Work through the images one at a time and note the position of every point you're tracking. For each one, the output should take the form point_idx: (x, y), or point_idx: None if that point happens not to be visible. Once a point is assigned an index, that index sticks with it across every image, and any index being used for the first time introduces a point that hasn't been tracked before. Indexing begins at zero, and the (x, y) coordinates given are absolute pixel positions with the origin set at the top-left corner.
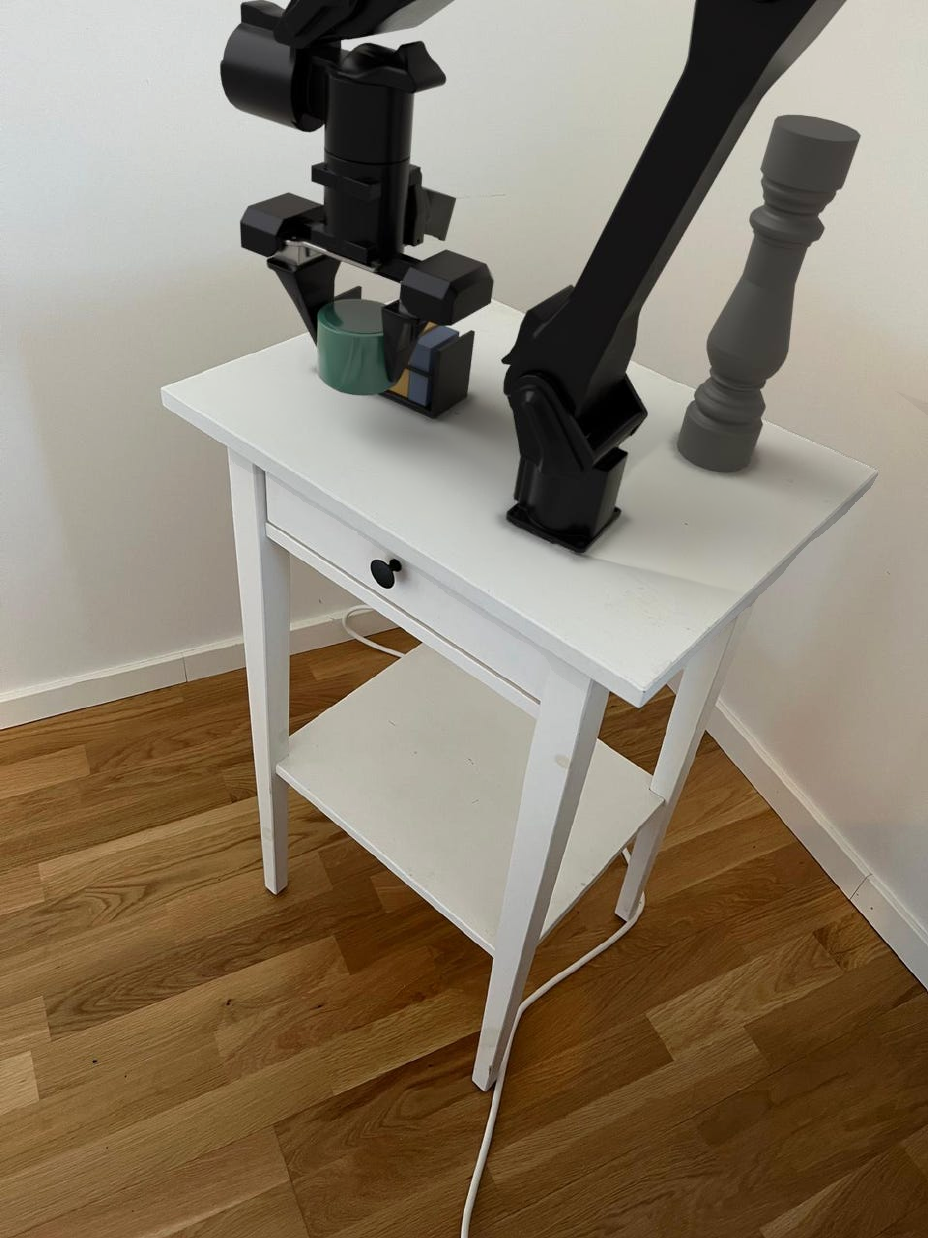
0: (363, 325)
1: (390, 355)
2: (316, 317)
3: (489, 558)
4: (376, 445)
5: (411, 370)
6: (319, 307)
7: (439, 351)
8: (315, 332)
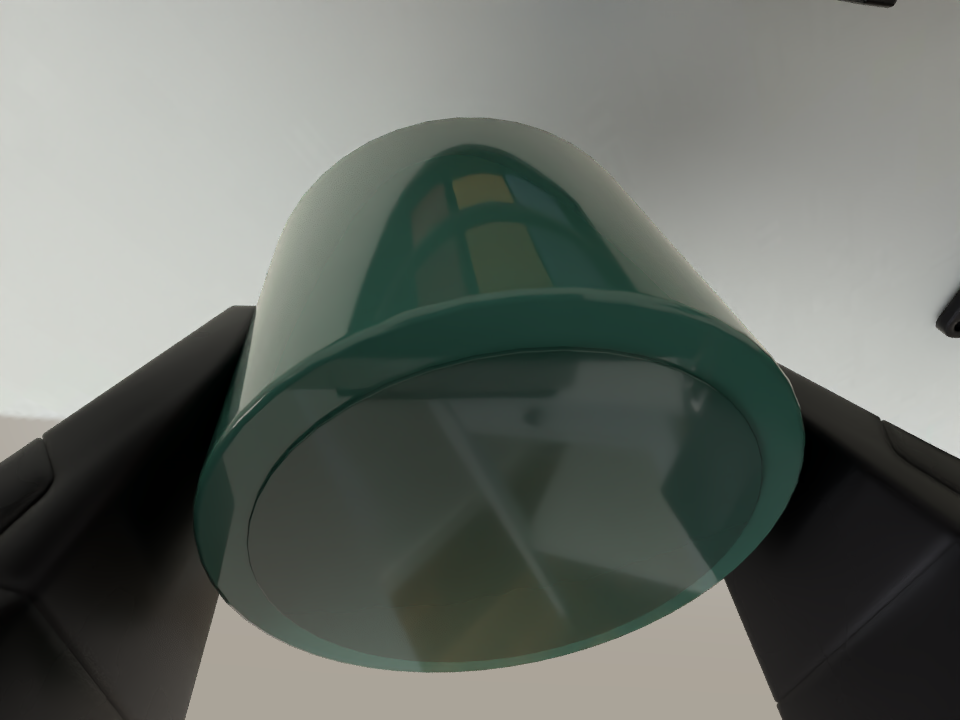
0: (583, 591)
1: None
2: None
3: (889, 419)
4: None
5: None
6: (185, 572)
7: (882, 2)
8: None
